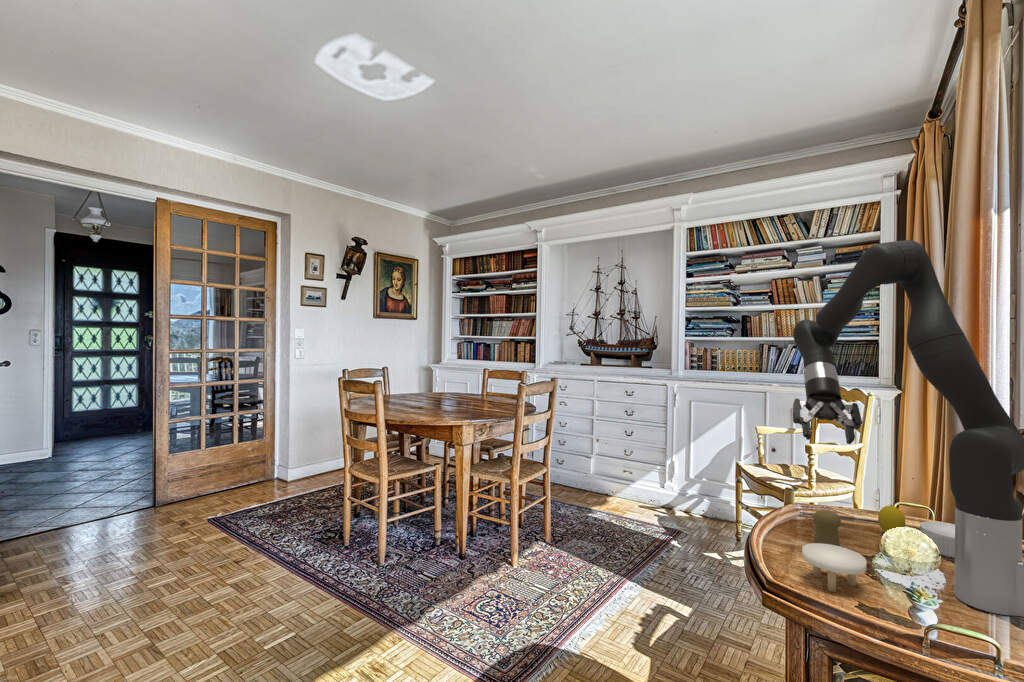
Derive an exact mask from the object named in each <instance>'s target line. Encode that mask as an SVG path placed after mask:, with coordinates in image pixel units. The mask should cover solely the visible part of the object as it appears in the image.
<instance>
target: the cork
mask: <svg viewBox="0 0 1024 682" xmlns="http://www.w3.org/2000/svg"><path fill="white" fill-rule="evenodd" d="M813 521H814V523H815V525H816V526H815V531H814V539H813V543H822V544H830V545H836V546H840V547H841V542H840V533H839V528H840V526H841V523H842V520H841V517H840V516H839V514H838V513H836V512H834V511H830V510H825V509H824V510H823V509H821V510H820V509H819V510H816V511H815V512H814V514H813Z"/></svg>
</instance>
